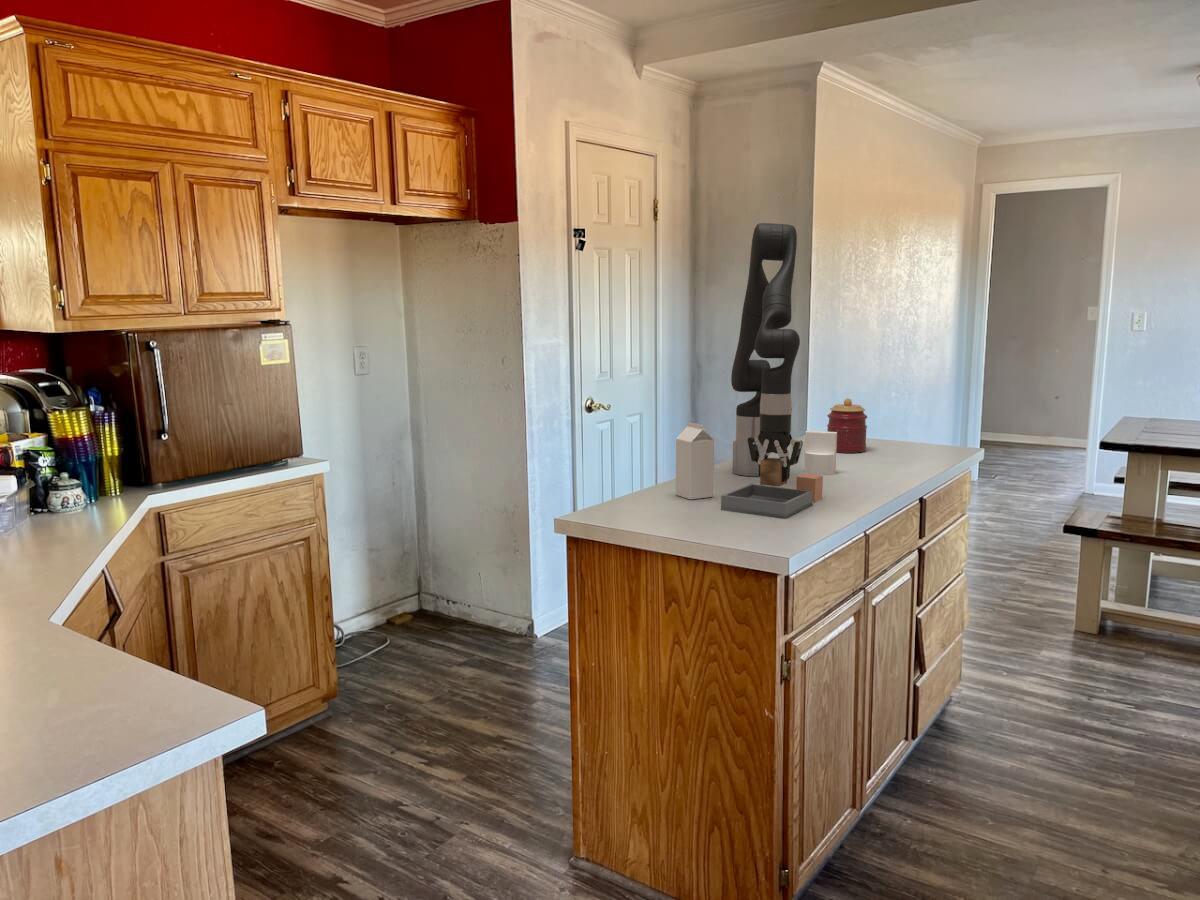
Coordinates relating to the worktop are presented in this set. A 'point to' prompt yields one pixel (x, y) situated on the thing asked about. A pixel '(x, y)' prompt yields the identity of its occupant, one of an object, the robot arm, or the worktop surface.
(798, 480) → the terracotta block
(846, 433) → the canister
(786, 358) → the robot arm
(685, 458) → the milk carton
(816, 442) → the cylinder with rectangular tab
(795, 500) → the tray
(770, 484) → the walnut block
